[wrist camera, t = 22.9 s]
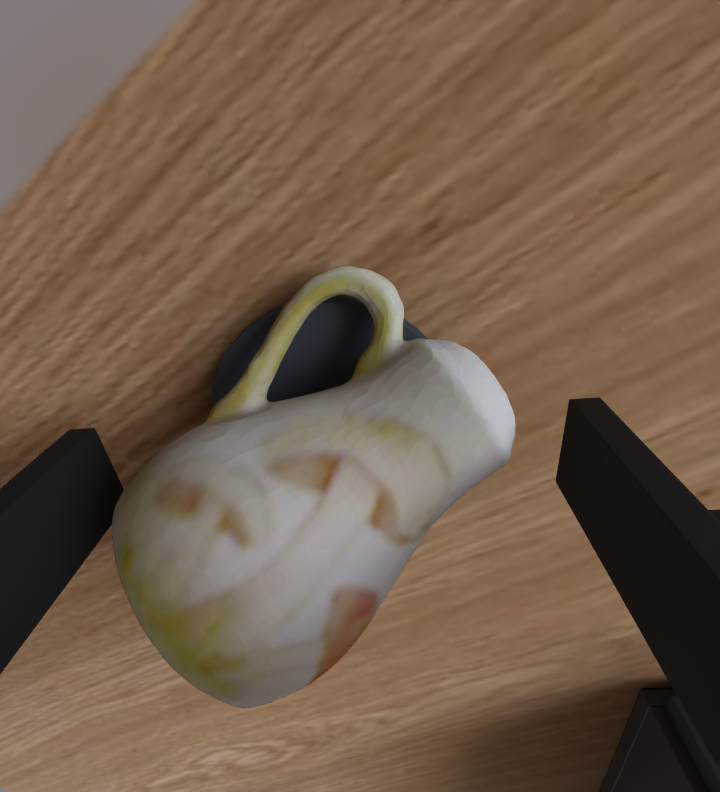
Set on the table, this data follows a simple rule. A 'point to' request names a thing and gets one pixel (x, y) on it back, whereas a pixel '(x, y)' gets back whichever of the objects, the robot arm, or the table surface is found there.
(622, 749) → the cabinet
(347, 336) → the coaster
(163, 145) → the table surface
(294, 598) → the mug
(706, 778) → the drawer
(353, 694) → the table surface
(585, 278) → the table surface
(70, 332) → the table surface
